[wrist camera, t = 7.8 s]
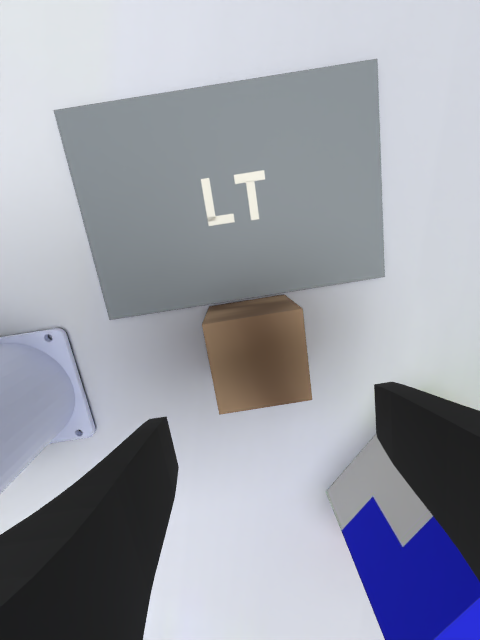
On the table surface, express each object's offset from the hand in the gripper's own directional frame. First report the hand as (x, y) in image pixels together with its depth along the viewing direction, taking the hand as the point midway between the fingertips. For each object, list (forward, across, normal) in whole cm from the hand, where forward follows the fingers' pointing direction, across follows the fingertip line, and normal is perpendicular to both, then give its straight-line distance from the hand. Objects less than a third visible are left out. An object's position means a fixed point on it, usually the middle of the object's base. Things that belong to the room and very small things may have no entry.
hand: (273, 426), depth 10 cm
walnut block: (+10, 0, 0) cm, 10 cm away
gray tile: (+10, 0, -9) cm, 13 cm away
